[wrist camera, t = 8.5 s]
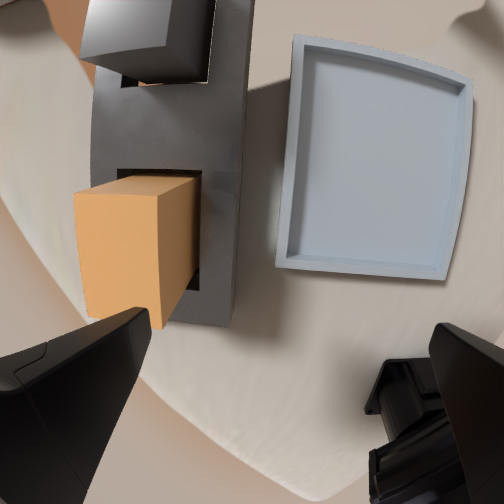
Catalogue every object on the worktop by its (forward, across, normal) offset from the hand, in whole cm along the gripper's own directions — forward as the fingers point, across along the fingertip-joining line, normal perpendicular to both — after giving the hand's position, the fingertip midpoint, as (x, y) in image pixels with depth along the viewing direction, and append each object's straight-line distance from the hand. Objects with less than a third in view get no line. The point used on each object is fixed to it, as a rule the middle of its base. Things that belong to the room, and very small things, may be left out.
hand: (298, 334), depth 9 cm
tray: (+12, -6, -5) cm, 14 cm away
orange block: (+12, +8, 0) cm, 14 cm away
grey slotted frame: (+12, +7, -6) cm, 15 cm away
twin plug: (+11, +7, -12) cm, 18 cm away
